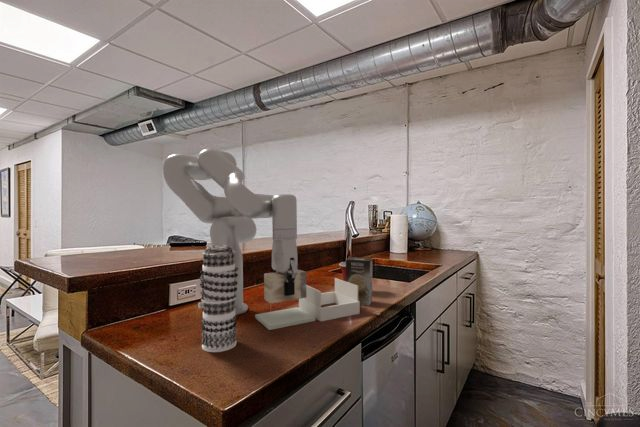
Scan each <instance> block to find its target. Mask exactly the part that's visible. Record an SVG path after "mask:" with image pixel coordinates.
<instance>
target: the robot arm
mask: <svg viewBox="0 0 640 427" xmlns="http://www.w3.org/2000/svg"><path fill="white" fill-rule="evenodd" d="M162 172H163V178H164V181H165V183H166V185H167V187H168V188H169V189H170V190H171V191H172V192H173V193H174V194H175V195H176V196H177V197H178V198H179V199H180V200H181V201H182V202H183V203H184V204H185V206H186V207H187V208H188V210H190V211H191V212H192V213H193V214H194V215H195V217H196V218H197V219H198V220H199V221H201V222H202V223H203V224H204V223H205V224H211V225H210V228H209V237H210V242H211V246H216V245H226V246H230V247H231V248H232V250H233V251H235V253H234V263H235V267H237V268H238V270H237V271H236V272H235V271H234V273H236V274H238V276H237V277H236V278H234V281H236V282H237V285H235V286H234V287H236V288H237V291H235V292H234V294H235V295H236V299H235V315H236V316H238V315H241V314H244V313H246V312H247V311H248V308H249V307H248V305H247V303H244V292H243V291H244V276H243V275H244V272H243V271H244V270H243V269H244V268H243V267H244V262H243V261H244V260H243V259H244V258H243V253H242V249H241V247H240V244H242V243H243V244H244V243H248V242H250V241H252V240H253V239H254V238H255V237H256V234H257V225H256V222H255V221H254V219H269V218H270V219H271V218H272V219H271V220H272V221H271V222H272V224H271V225H272V247H271V268H272V270H274V271H275V272H281V273H284V275H285V282H284V295H285V296H289V295H294V294H295V285H294V282H295V277H296V275H297V270H298V266H299V265H298V264H299V263H298V261H299V260H298V258H299V257H298V247H297V240H298V229H297V228H298V224H297V223H298V216H297V215H298V214H297V213H298V210H297V209H298V208H297V207H298V206H297V205H298V204H297V197H296V196H295V195H294V194H290V193H289V194H286V193H285V194H284V193H283V194H275V195H272V194H263V193H254V192H253V191H251V190H250V189H249V188H248V187H246V185H244V184H243V181H244V176H245V175H244V172H243V171H242V170H241V169H240V168H239V167H238V166H237V160H236V158H235V157H234V156H233V155H232V154H231V153H230V152H227V151H225V150H224V151H223V150H219V149H217V148H205V149H202V150H201V151H200V152H199V153H198V154H197V156H196V155H195V156H194V155H190V154H186V153H185V154H184V153H174V154H171V155H169V156H167V157H166V158H165V160H164V162H163V165H162ZM206 180H207V181H209V180H212V181H214V182H215V184H217V185H218V186H219V187H220V188H222V189H223V192H224V195H225V196H217V195H213V194H211V193H210V191H208V190H207V189H206V188H205V187H204V186H203V184H201V183H199V182H197V181H206ZM287 271H290V272H287ZM288 274H290V275H289V276H288ZM203 305H204V302H202V301H200V302H198V309H204V307H203Z"/></svg>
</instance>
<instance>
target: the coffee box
mask: <svg viewBox="0 0 640 427" xmlns="http://www.w3.org/2000/svg"><path fill="white" fill-rule="evenodd" d="M373 260H374V259H373V258H370V257H368V258H367V257H356V256H354V257H353V256H348V258H346V259H345V262H346V282H349V283H351V284H354V285H357V286H358V301H360V306H368V307H369V306H370V305H371V304H372V302H373V267H374V266H373V265H374V264H373Z"/></svg>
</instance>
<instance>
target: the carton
mask: <svg viewBox="0 0 640 427" xmlns="http://www.w3.org/2000/svg"><path fill="white" fill-rule="evenodd" d="M330 304H335V305H330ZM323 305H324V307H322V306H323ZM325 305H327V306H325ZM328 305H329V306H328ZM360 306H361V305H360V301H358V286H357V285H354V284H351V283H349V282H346V281H344V280H343V279H339V278H337V277H334V291H330V292H329V291H327V292H322V291H321V290H319V289H316V288H314V287H313V286H310V285H308V284H306V298H301V299H298V308H300V309H302V310H303V311H305V312H307V313H309V314H310V315H312V316H314V317H315V320H317V321H318V322H325V321H330V320H335V319H340V318H344V317H348V316H349V317H350V316H355V315H360V311H361V308H360Z"/></svg>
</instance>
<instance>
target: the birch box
mask: <svg viewBox="0 0 640 427" xmlns="http://www.w3.org/2000/svg"><path fill="white" fill-rule="evenodd" d="M287 272H290V270H288V271H287ZM289 275H290V274H288V276H289ZM284 282H285V275H284V273H281V272H276V271H275V272H268V273H267V272H266V273H264V274H263V287H264V288H263V289H264V290H263V291H264V293H263V297H264V298H263V299H264V300H265V301H266V302H267V303H269V304H275V303H276V304H277V303H283V302H289V301H294V300H299V299H301V298H306V285H307V271H304V270H301V269H297V275H296V277H295V282H294V285H295V294H294V295H289V296H285V295H284Z"/></svg>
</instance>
